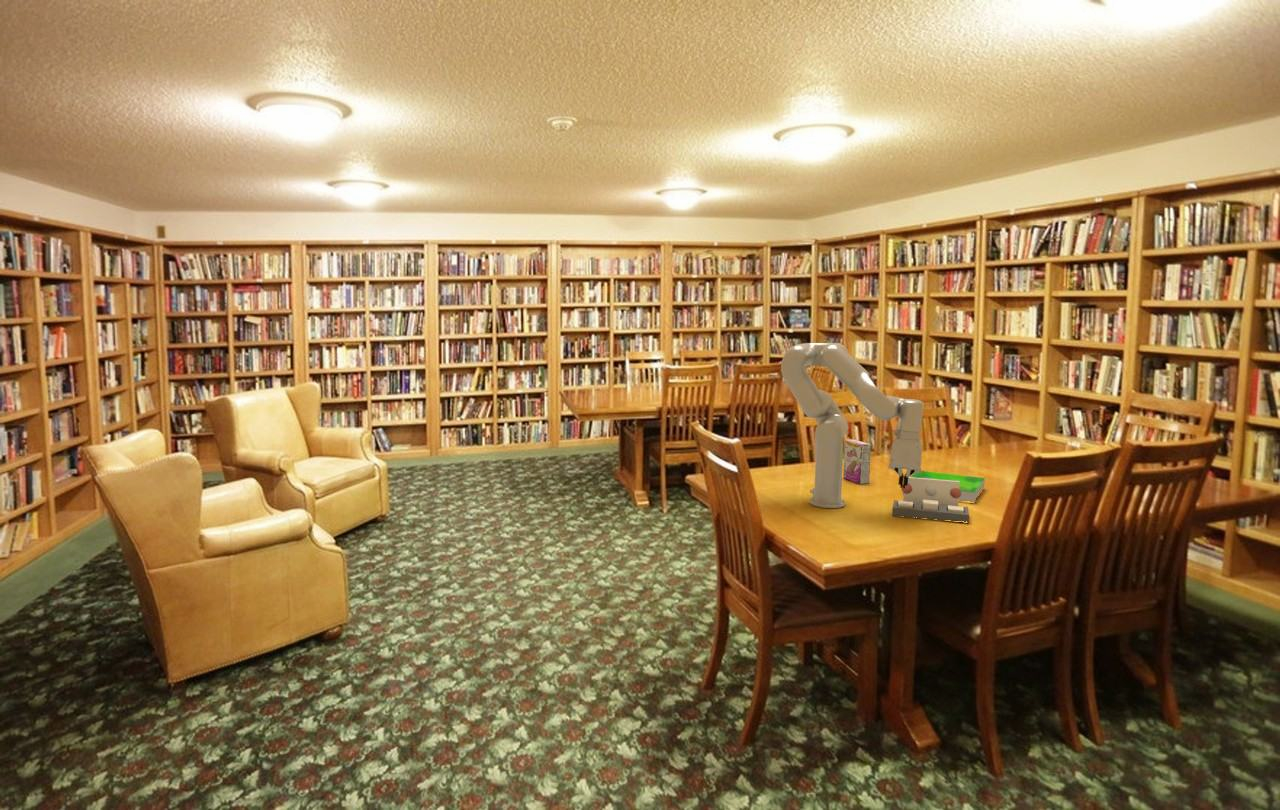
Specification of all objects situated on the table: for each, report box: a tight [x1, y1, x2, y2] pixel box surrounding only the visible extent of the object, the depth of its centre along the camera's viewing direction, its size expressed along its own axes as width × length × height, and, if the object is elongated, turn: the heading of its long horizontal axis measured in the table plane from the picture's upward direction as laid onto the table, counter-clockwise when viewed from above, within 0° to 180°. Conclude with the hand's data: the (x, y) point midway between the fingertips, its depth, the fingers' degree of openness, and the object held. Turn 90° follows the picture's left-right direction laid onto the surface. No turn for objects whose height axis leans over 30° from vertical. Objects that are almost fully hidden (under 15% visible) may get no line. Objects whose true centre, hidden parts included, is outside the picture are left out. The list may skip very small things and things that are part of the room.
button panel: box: [891, 476, 970, 523], centre depth 251 cm, size 24×14×11 cm, turn 68°
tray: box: [902, 470, 986, 502], centre depth 281 cm, size 25×25×5 cm
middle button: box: [923, 500, 938, 510], centre depth 250 cm, size 5×5×3 cm
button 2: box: [948, 505, 964, 513], centre depth 247 cm, size 5×5×3 cm
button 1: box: [897, 500, 913, 508], centre depth 253 cm, size 5×5×3 cm
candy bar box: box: [842, 438, 872, 485], centre depth 297 cm, size 11×5×16 cm, turn 22°
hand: (902, 486), depth 252 cm, fingers closed
